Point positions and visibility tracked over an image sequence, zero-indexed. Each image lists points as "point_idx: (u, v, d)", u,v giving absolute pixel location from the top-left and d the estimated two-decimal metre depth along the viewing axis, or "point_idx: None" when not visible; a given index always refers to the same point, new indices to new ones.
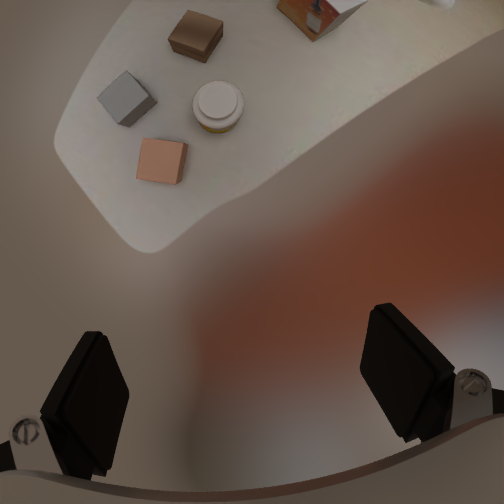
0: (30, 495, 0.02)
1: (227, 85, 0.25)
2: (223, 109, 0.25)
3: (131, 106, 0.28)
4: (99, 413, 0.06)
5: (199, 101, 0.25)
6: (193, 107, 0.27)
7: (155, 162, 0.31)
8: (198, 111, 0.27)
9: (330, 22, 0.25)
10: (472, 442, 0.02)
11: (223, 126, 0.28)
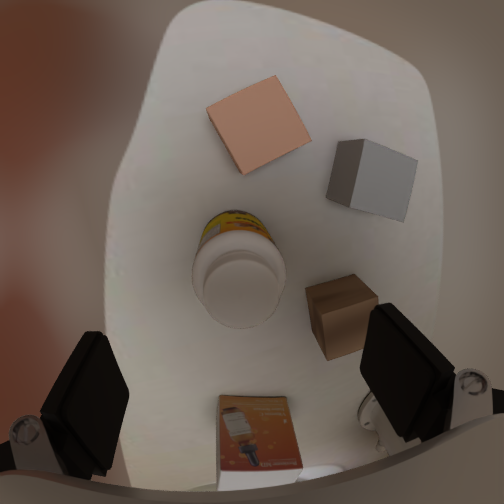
0: (30, 494, 0.02)
1: (247, 325, 0.15)
2: (219, 289, 0.14)
3: (362, 176, 0.18)
4: (99, 413, 0.06)
5: (267, 272, 0.14)
6: (270, 246, 0.16)
7: (264, 117, 0.17)
8: (257, 247, 0.16)
9: (221, 446, 0.22)
10: (472, 442, 0.02)
11: (201, 253, 0.16)
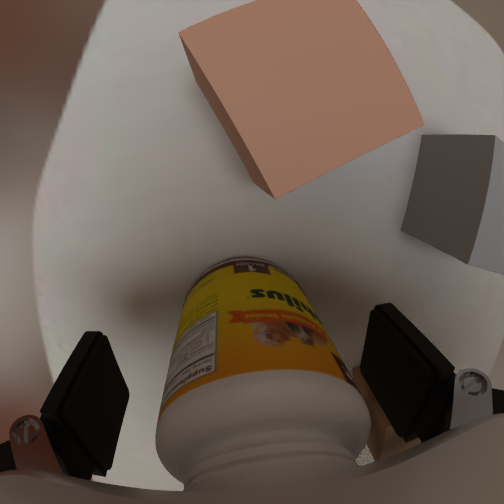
0: (30, 494, 0.02)
1: None
2: None
3: (491, 207, 0.08)
4: (99, 413, 0.06)
5: None
6: (352, 405, 0.05)
7: (325, 57, 0.06)
8: (322, 420, 0.05)
9: None
10: (472, 442, 0.02)
11: (169, 427, 0.05)
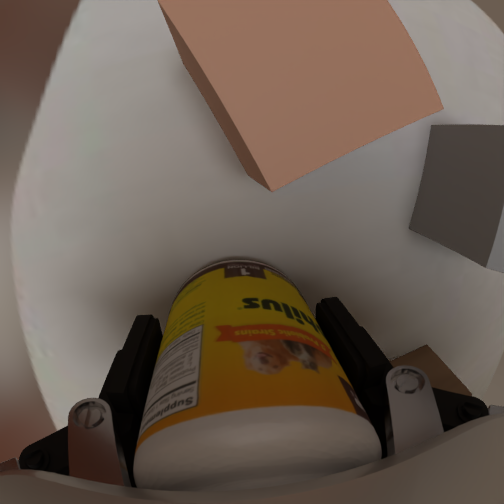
0: (30, 494, 0.02)
1: None
2: None
3: None
4: None
5: None
6: (363, 443, 0.04)
7: (330, 25, 0.04)
8: (328, 463, 0.04)
9: None
10: (472, 442, 0.02)
11: (145, 466, 0.04)
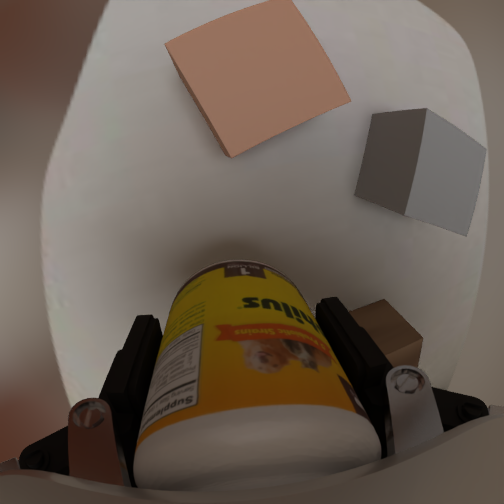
0: (30, 494, 0.02)
1: None
2: None
3: (424, 167, 0.10)
4: None
5: None
6: (363, 442, 0.04)
7: (269, 56, 0.08)
8: (327, 462, 0.04)
9: None
10: (472, 442, 0.02)
11: (145, 465, 0.04)
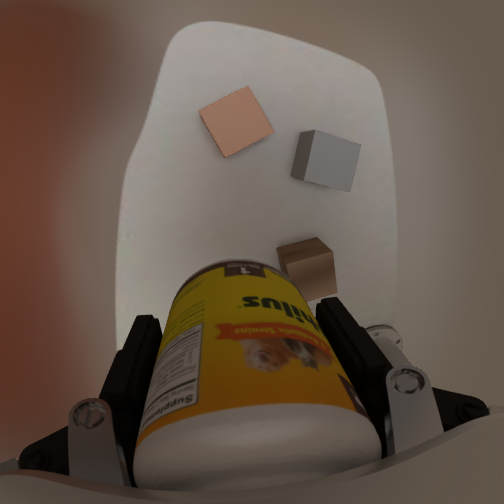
0: (30, 494, 0.02)
1: None
2: None
3: (313, 157, 0.25)
4: None
5: None
6: (363, 441, 0.04)
7: (239, 116, 0.23)
8: (328, 461, 0.04)
9: None
10: (472, 442, 0.02)
11: (145, 464, 0.04)
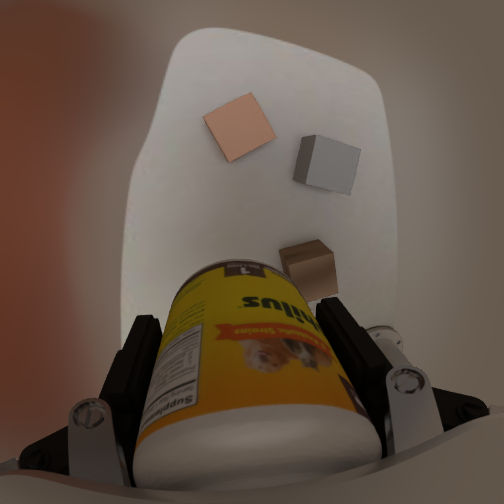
0: (30, 494, 0.02)
1: None
2: None
3: (315, 162, 0.26)
4: None
5: None
6: (363, 441, 0.04)
7: (243, 122, 0.24)
8: (328, 462, 0.04)
9: None
10: (472, 442, 0.02)
11: (145, 465, 0.04)
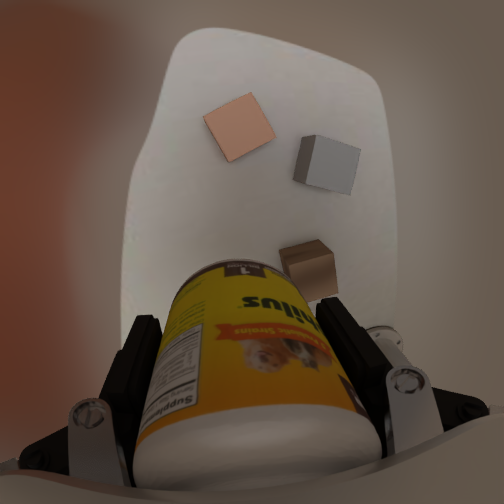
0: (30, 494, 0.02)
1: None
2: None
3: (315, 162, 0.26)
4: None
5: None
6: (364, 441, 0.04)
7: (243, 122, 0.24)
8: (328, 462, 0.04)
9: None
10: (472, 442, 0.02)
11: (145, 465, 0.04)
